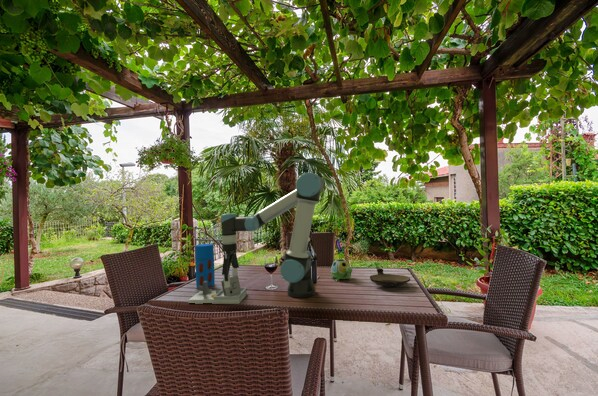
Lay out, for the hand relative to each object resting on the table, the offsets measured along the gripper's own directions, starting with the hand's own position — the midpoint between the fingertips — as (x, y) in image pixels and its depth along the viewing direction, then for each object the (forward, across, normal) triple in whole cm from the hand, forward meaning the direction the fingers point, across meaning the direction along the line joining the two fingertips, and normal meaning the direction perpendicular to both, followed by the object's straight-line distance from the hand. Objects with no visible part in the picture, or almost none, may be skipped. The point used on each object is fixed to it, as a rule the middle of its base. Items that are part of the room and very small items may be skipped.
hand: (231, 283), depth 156 cm
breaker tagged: (+5, +3, -13) cm, 14 cm away
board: (+8, 0, -7) cm, 11 cm away
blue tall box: (+7, -24, -24) cm, 35 cm away
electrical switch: (+6, 0, -1) cm, 6 cm away
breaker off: (+5, -3, -13) cm, 14 cm away
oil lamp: (+10, -24, +86) cm, 90 cm away
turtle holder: (+9, -36, +60) cm, 70 cm away
